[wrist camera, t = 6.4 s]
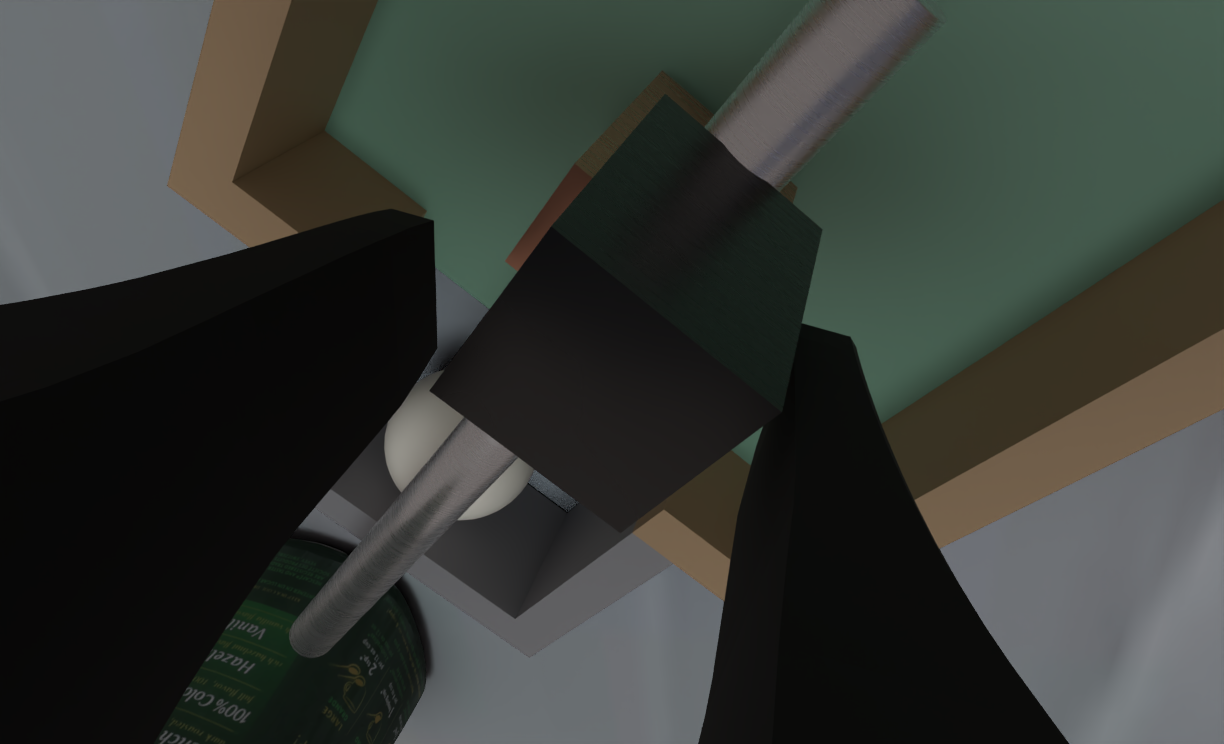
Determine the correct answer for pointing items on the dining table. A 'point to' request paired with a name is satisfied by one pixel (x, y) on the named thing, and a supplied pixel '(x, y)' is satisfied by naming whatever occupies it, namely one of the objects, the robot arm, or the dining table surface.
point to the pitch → (827, 193)
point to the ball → (422, 434)
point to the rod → (644, 300)
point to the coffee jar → (303, 668)
